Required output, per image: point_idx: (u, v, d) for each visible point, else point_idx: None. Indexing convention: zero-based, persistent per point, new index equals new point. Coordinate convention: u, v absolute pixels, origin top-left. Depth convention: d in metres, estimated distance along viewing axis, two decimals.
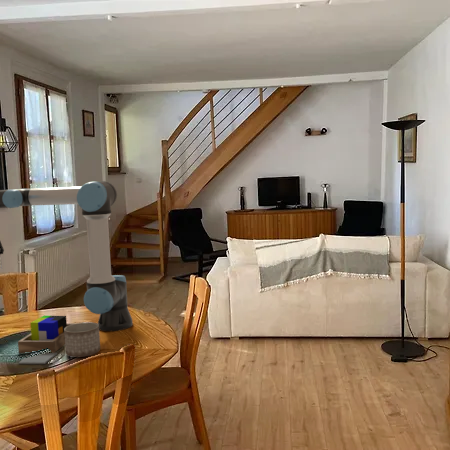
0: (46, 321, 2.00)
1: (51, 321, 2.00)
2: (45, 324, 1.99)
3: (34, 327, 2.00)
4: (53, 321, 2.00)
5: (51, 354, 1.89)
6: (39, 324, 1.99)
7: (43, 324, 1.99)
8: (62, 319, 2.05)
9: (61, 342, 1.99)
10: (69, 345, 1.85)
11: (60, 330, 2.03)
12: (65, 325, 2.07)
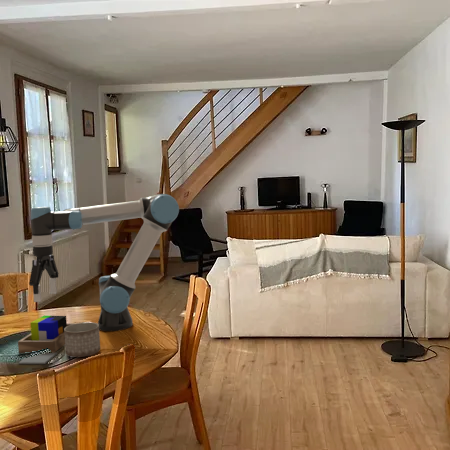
0: (46, 321, 2.00)
1: (51, 321, 2.00)
2: (45, 324, 1.99)
3: (34, 327, 2.00)
4: (53, 321, 2.00)
5: (51, 354, 1.89)
6: (39, 324, 1.99)
7: (43, 324, 1.99)
8: (62, 319, 2.05)
9: (61, 342, 1.99)
10: (69, 345, 1.85)
11: (60, 330, 2.03)
12: (65, 325, 2.07)
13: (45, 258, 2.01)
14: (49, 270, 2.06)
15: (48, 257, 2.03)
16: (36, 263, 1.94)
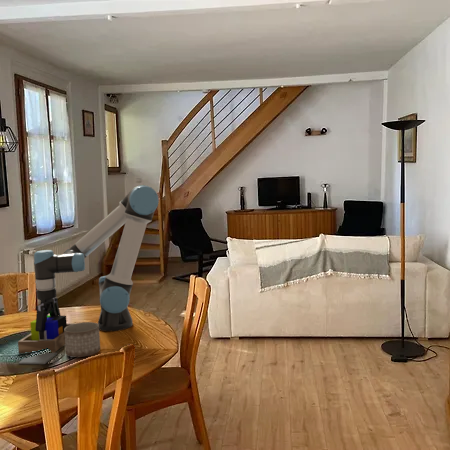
0: (46, 321, 2.00)
1: (51, 321, 2.00)
2: (45, 324, 1.99)
3: (34, 327, 2.00)
4: (53, 321, 2.00)
5: (51, 354, 1.89)
6: None
7: None
8: (62, 319, 2.05)
9: (61, 342, 1.99)
10: (69, 345, 1.85)
11: (60, 330, 2.03)
12: (65, 325, 2.07)
13: (49, 301, 2.02)
14: (52, 314, 2.07)
15: (52, 299, 2.05)
16: (40, 309, 1.96)
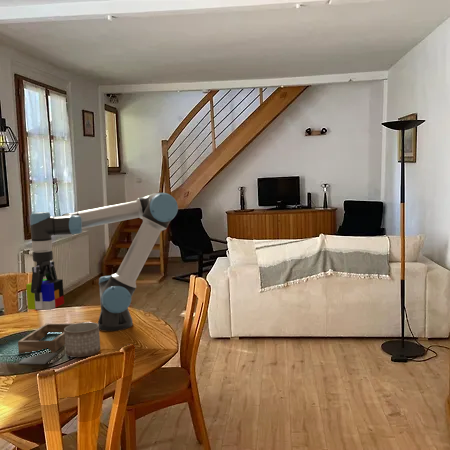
0: (42, 283, 1.98)
1: (47, 283, 1.98)
2: (41, 286, 1.96)
3: (30, 289, 1.97)
4: (49, 283, 1.97)
5: (51, 354, 1.89)
6: None
7: None
8: (58, 282, 2.02)
9: (61, 342, 1.99)
10: (69, 345, 1.85)
11: (56, 293, 2.00)
12: (61, 288, 2.04)
13: (45, 263, 2.00)
14: (48, 277, 2.05)
15: (48, 262, 2.02)
16: (36, 270, 1.94)
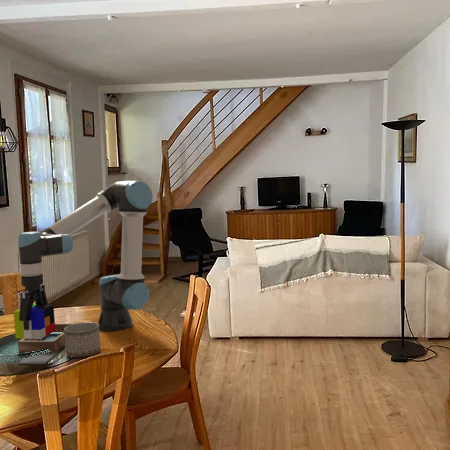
0: None
1: (37, 310, 1.81)
2: (30, 313, 1.79)
3: (18, 317, 1.80)
4: (39, 310, 1.81)
5: (51, 354, 1.89)
6: None
7: None
8: (49, 308, 1.85)
9: (61, 342, 1.99)
10: (69, 345, 1.85)
11: (46, 320, 1.84)
12: (52, 315, 1.88)
13: (35, 288, 1.83)
14: (38, 302, 1.88)
15: (38, 286, 1.86)
16: (25, 296, 1.77)
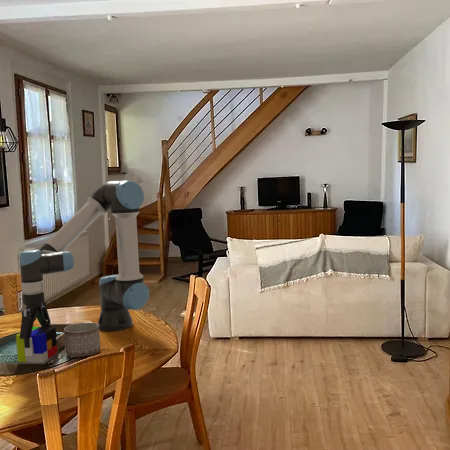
0: (33, 333, 1.82)
1: (39, 333, 1.82)
2: (32, 337, 1.80)
3: (20, 341, 1.81)
4: (41, 333, 1.82)
5: None
6: None
7: (30, 337, 1.80)
8: (51, 331, 1.87)
9: (61, 342, 1.99)
10: (69, 345, 1.85)
11: (48, 343, 1.85)
12: (54, 337, 1.89)
13: (36, 306, 1.84)
14: (40, 319, 1.89)
15: (39, 304, 1.86)
16: (26, 314, 1.78)
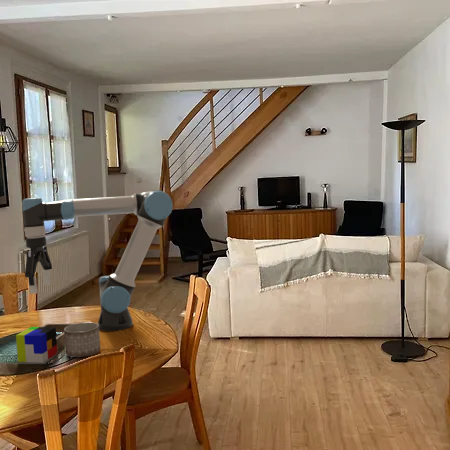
0: (33, 333, 1.82)
1: (39, 333, 1.82)
2: (32, 337, 1.80)
3: (20, 341, 1.81)
4: (41, 333, 1.82)
5: None
6: (25, 337, 1.81)
7: (30, 337, 1.81)
8: (51, 331, 1.87)
9: (61, 342, 1.99)
10: (69, 345, 1.85)
11: (48, 343, 1.85)
12: (54, 337, 1.89)
13: (39, 249, 1.99)
14: (42, 262, 2.05)
15: (41, 248, 2.02)
16: (31, 254, 1.93)
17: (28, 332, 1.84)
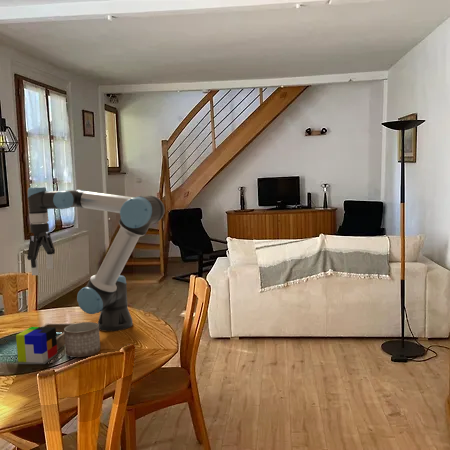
0: (33, 333, 1.82)
1: (39, 333, 1.82)
2: (32, 337, 1.80)
3: (20, 341, 1.81)
4: (41, 333, 1.82)
5: None
6: (25, 337, 1.81)
7: (30, 337, 1.81)
8: (51, 331, 1.87)
9: (61, 342, 1.99)
10: (69, 345, 1.85)
11: (48, 343, 1.85)
12: (54, 337, 1.89)
13: (42, 235, 2.15)
14: (45, 247, 2.20)
15: (45, 234, 2.17)
16: (33, 239, 2.08)
17: (28, 332, 1.84)
